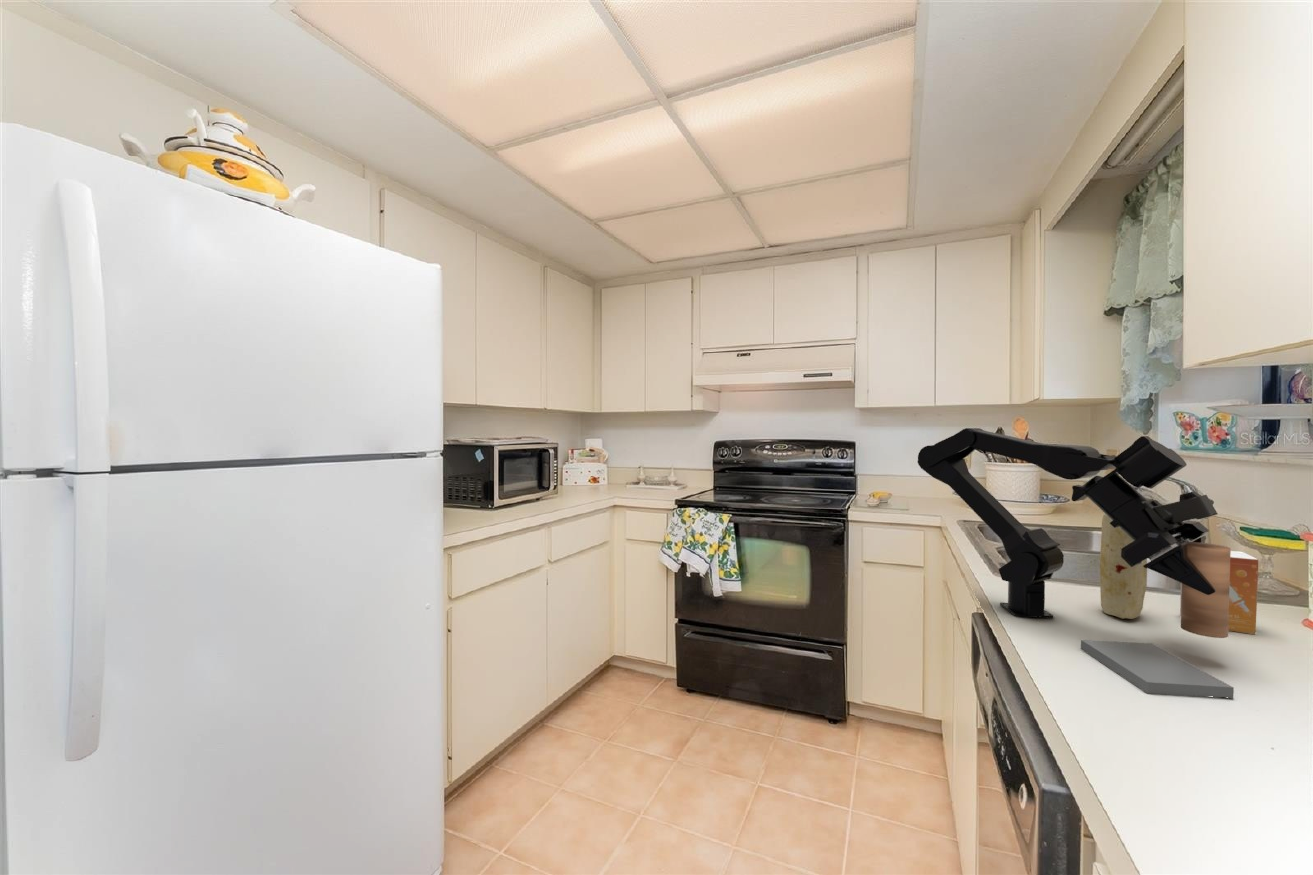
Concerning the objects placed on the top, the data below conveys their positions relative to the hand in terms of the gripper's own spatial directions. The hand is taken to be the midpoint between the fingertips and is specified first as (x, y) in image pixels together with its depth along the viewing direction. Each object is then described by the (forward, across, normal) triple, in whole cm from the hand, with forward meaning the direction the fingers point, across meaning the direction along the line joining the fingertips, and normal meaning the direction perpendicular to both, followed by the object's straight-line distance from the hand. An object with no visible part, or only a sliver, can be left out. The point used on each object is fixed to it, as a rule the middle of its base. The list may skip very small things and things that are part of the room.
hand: (1218, 590), depth 79 cm
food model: (-3, +14, +19) cm, 24 cm away
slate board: (+5, -11, +11) cm, 16 cm away
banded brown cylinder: (+4, 0, +6) cm, 7 cm away
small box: (+5, +22, +11) cm, 25 cm away
